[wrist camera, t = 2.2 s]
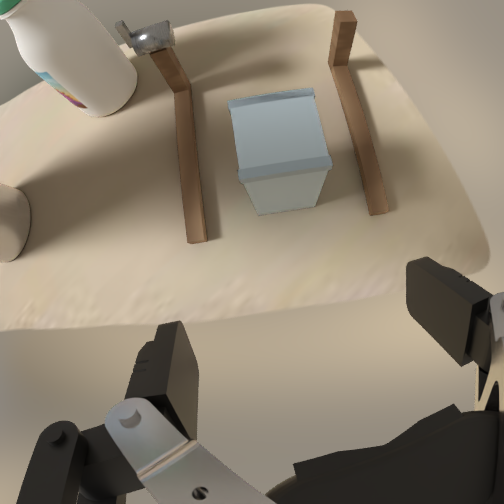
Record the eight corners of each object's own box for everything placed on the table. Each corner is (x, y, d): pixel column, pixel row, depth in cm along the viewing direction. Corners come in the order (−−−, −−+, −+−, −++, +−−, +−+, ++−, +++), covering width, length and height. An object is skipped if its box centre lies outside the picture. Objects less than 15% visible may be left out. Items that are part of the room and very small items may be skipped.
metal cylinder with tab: (134, 63, 22) (113, 34, 18) (136, 44, 23) (116, 15, 18) (175, 50, 22) (158, 18, 18) (174, 32, 22) (159, 0, 18)
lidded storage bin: (257, 217, 28) (238, 179, 17) (248, 161, 29) (227, 100, 18) (316, 207, 28) (332, 165, 17) (305, 152, 28) (312, 87, 17)
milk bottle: (139, 55, 31) (56, -61, 12) (140, 105, 31) (32, -17, 11) (84, 78, 32) (-11, -14, 12) (81, 128, 31) (-40, 40, 12)
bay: (191, 244, 29) (157, 231, 21) (177, 87, 30) (150, 43, 22) (385, 213, 27) (418, 190, 19) (341, 61, 29) (351, 10, 21)
